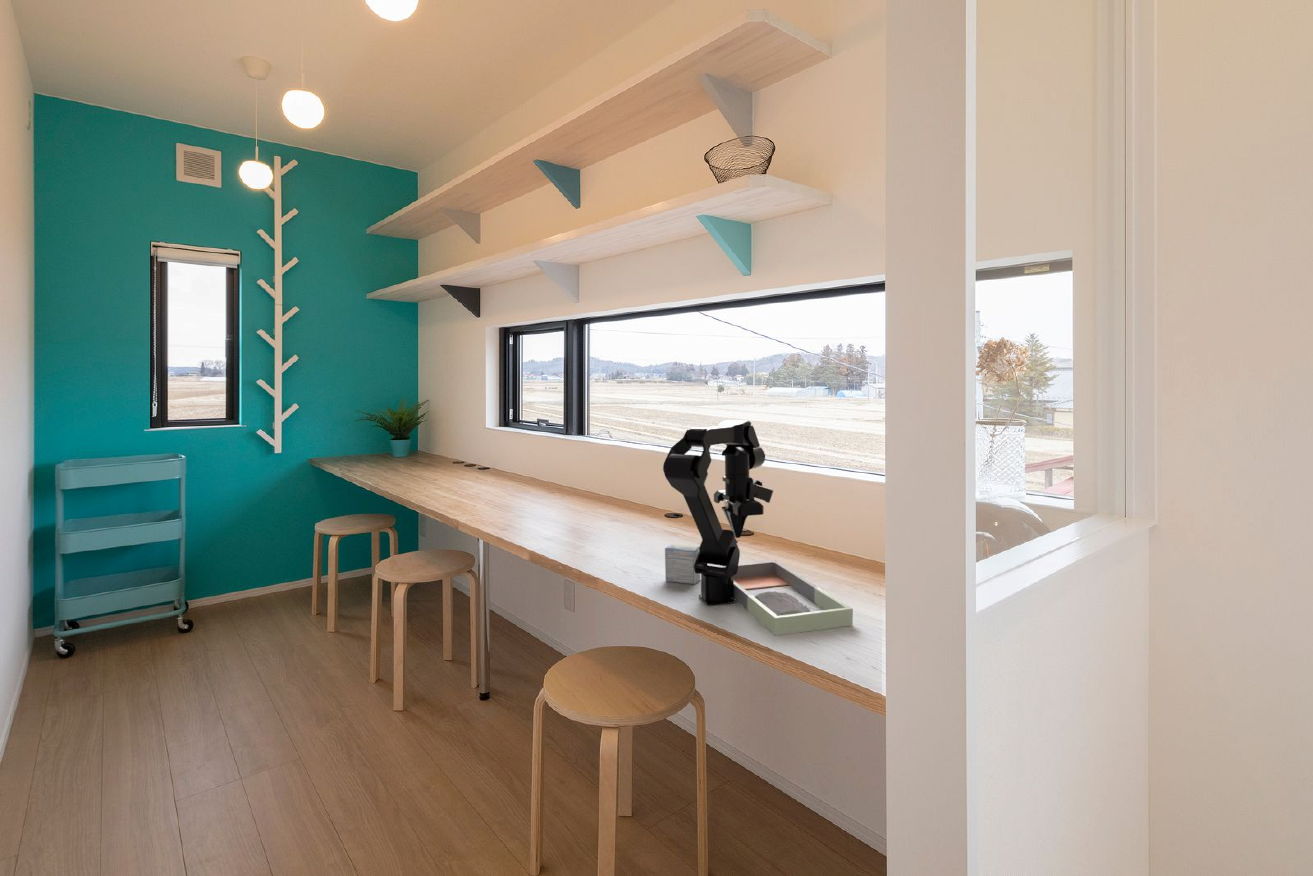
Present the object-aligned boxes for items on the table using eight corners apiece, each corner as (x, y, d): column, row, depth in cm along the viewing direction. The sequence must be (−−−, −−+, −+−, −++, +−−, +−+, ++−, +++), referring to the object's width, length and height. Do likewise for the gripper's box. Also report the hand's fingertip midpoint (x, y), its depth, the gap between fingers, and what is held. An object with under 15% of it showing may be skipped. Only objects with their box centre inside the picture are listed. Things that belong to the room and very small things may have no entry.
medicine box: (700, 579, 165) (700, 545, 164) (695, 585, 161) (694, 550, 160) (671, 576, 168) (670, 543, 167) (665, 581, 163) (664, 547, 163)
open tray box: (775, 635, 129) (775, 618, 128) (712, 580, 163) (712, 567, 163) (852, 625, 133) (852, 608, 133) (775, 574, 168) (775, 560, 167)
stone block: (790, 613, 146) (748, 608, 144) (795, 592, 146) (753, 587, 143) (814, 635, 134) (769, 631, 132) (819, 613, 134) (774, 608, 132)
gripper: (784, 477, 149) (785, 544, 150) (754, 466, 167) (755, 526, 169) (738, 479, 146) (738, 548, 148) (712, 468, 165) (713, 529, 166)
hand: (737, 537), depth 158 cm, fingers closed
